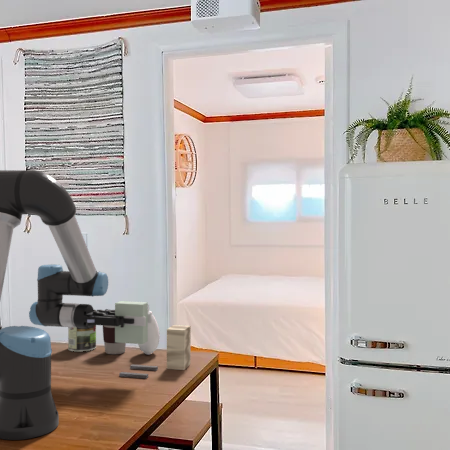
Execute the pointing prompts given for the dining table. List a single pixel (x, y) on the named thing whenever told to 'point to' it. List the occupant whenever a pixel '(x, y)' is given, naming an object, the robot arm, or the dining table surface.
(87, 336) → the can
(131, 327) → the pale green block
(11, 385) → the robot arm
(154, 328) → the sauce bottle
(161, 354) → the dining table surface
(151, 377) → the dining table surface
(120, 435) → the dining table surface
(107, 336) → the travel mug
